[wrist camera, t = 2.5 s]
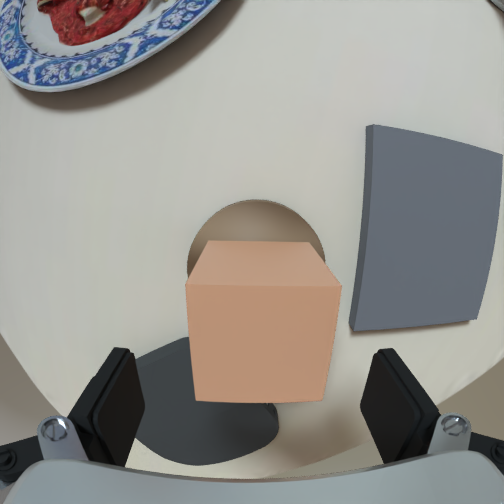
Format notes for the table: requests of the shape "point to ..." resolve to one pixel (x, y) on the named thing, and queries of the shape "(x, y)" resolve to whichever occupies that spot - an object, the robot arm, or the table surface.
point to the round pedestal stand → (253, 227)
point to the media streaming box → (195, 414)
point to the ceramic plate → (87, 38)
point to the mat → (424, 230)
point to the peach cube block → (261, 322)
